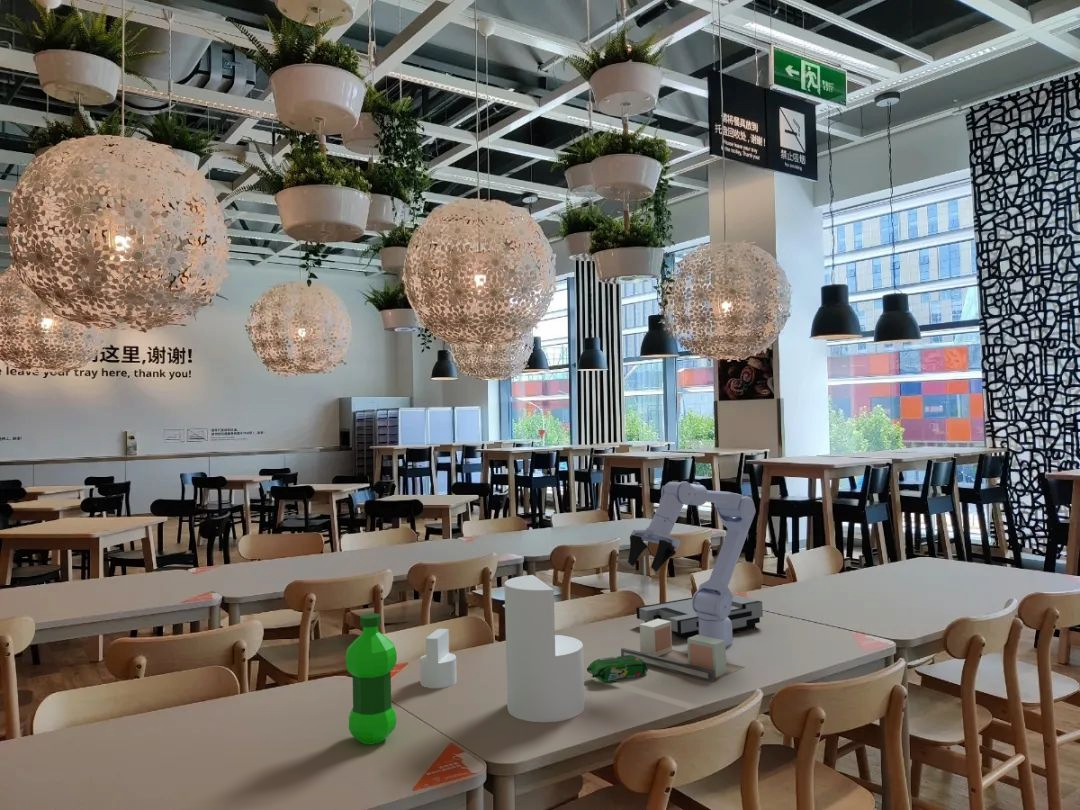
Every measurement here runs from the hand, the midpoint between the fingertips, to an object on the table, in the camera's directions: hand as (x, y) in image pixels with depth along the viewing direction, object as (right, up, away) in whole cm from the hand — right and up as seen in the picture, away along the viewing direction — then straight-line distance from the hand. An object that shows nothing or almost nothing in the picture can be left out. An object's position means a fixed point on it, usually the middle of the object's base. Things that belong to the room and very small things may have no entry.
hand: (642, 566), depth 194 cm
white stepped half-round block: (-51, -28, -5) cm, 59 cm away
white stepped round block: (-25, -27, -24) cm, 44 cm away
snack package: (-7, -27, -6) cm, 28 cm away
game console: (+23, -27, +38) cm, 52 cm away
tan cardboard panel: (+11, -26, +2) cm, 28 cm away
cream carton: (+5, -26, +11) cm, 29 cm away
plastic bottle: (-60, -27, -39) cm, 77 cm away
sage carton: (+15, -25, -6) cm, 30 cm away
